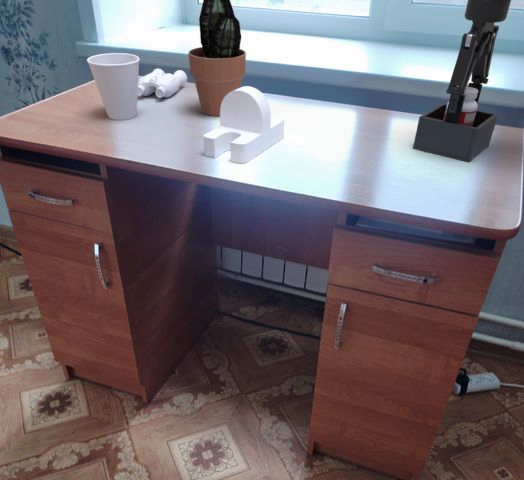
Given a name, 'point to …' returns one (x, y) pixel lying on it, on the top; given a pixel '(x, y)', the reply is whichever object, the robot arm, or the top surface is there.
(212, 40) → the potted plant
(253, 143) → the bracket
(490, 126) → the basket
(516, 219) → the top surface
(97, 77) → the cup
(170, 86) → the binoculars
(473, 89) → the pill bottle
